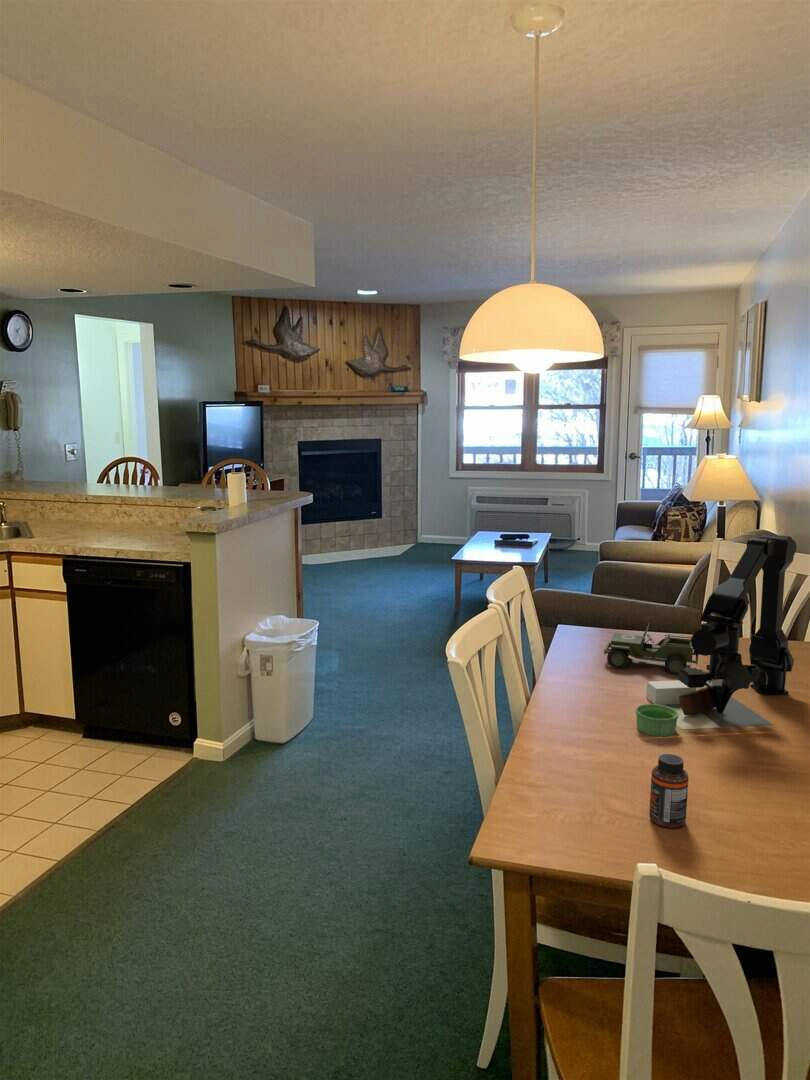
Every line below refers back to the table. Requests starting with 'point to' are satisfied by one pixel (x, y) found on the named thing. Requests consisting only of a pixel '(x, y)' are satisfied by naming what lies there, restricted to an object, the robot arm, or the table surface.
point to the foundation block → (666, 691)
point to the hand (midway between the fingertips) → (719, 712)
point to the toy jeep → (651, 651)
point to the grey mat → (720, 717)
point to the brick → (696, 701)
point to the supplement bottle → (669, 792)
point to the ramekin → (656, 719)
